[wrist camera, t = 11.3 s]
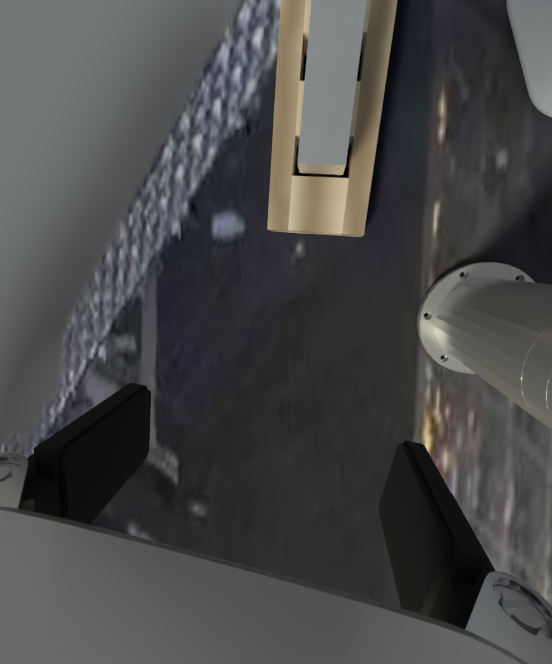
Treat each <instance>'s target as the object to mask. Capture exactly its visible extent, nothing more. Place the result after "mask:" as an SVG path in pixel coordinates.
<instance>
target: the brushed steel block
mask: <svg viewBox="0 0 552 664" xmlns="http://www.w3.org/2000/svg"><path fill="white" fill-rule="evenodd" d="M366 3H367V0H312V2H311V13H310V25H309V36H308V48H307V59H306V71H305V82H304V94H303V105H302V117H301V128H300V140H299V151H298V168H299V173H303V175H311V176H331V177H340V175H343V173H344V169H345V166H346V161H347V153H348V145H349V137H350V129H351V121H352V113H353V106H354V98H355V90H356V82H357V74H358V66H359V58H360V50H361V43H362V35H363V27H364V19H365V11H366Z"/></svg>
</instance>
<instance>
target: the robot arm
mask: <svg viewBox="0 0 552 664" xmlns="http://www.w3.org/2000/svg"><path fill="white" fill-rule="evenodd" d="M461 272H462V276H461V277H460V273H461ZM515 279H516V280H515ZM425 313H427V316H425V317H424V314H425ZM417 330H418V336H419V339H420V341H421V344H422V346H423V347H424V349H425V350H426V352H427V353H428V354H429V355H430V356H431V357H432V358H433V359H434V360H435V361H437V362H438V363H439V364H440V365H442V366H444V367H446V368H448V369H450V370H454V371H457V372H461V373H470V374H475V373H476V374H477V375H479V376H480V377H481V378H483V379H484V380H485V381H487V382H488V383H489V384H491V385H492V386H493V387H495V388H496V389H497V390H499V391H500V392H501V393H503V394H504V395H505V396H507V397H508V398H509V399H511V400H512V401H513V402H515V403H516V404H517V405H519V406H520V407H521V408H523V409H524V410H525V411H527V412H528V413H529V414H531V415H532V416H533V417H535V418H536V419H538V420H539V421H540V422H542V423H543V424H545V425H546V426H547V427H549V428H550V429H551V430H552V285H549V284H541V283H535V282H534V281H533V280H532V278H531V277H530V276H529V275H528V274H526V273H525V272H523V271H522V270H520V269H518V268H516V267H513V266H511V265H508V264H503V263H497V262H479V263H471V264H468V265H464V266H461V267H459V268H457V269H455V270H453V271H450V272H449V273H447V274H446V275H444V276H443V277H442V278H440V279H439V280H438V281H437V282H436V283H435V284H434V285H433V286H432V287H431V288H430V290H429V291H428V292H427V294H426V295H425V297H424V299H423V301H422V303H421V305H420V308H419V312H418V316H417ZM442 355H443V357H442V358H440V357H441V356H442ZM150 408H151V392H150V391H149V390H148V389H147V387H146V386H145V385H140V384H135V383H129V384H128V385H126V386H125V387H123V388H122V389H120V390H119V391H117V392H116V393H114V394H113V395H111V396H110V397H109V398H107V399H106V400H104V401H103V402H101V403H100V404H98V405H97V406H95V407H94V408H92V409H91V410H89V411H88V412H86V413H85V414H84V415H82V416H81V417H79V418H78V419H76V420H75V421H73V422H72V423H70V424H69V425H67V426H66V427H64V428H63V429H61V430H60V431H59V432H57V433H56V434H54V435H53V436H51V437H50V438H48V439H47V440H45V441H44V442H42V443H41V444H39V445H38V446H36V447H35V448H34V454H32V455H31V456H29V457H28V458H27V457H26V456H25V455H22V454H19V453H1V454H0V664H552V606H551V605H550V604H549V603H548V602H547V601H546V600H545V599H544V598H543V597H542V596H541V595H540V594H539V593H538V592H537V591H536V590H534V589H533V588H532V587H531V586H529V585H528V584H527V583H525V582H523V581H522V580H520V579H519V578H517V577H515V576H513V575H510V574H508V573H505V572H499V571H495V569H494V567H493V566H492V564H491V562H490V560H489V558H488V557H487V555H486V553H485V551H484V550H483V548H482V546H481V544H480V542H479V541H478V539H477V537H476V535H475V533H474V532H473V530H472V528H471V526H470V525H469V523H468V521H467V519H466V517H465V516H464V514H463V512H462V510H461V509H460V507H459V505H458V503H457V501H456V500H455V498H454V496H453V495H452V493H451V492H450V491H449V489H448V487H447V485H446V483H445V482H444V480H443V478H442V476H441V475H440V473H439V471H438V469H437V467H436V466H435V464H434V462H433V460H432V458H431V457H430V455H429V453H428V451H427V449H426V448H425V446H424V445H423V444H420V443H415V442H410V441H405V442H404V443H403V444H399V445H398V446H397V449H396V452H395V456H394V459H393V462H392V465H391V468H390V472H389V475H388V478H387V481H386V484H385V488H384V491H383V494H382V497H381V500H380V504H379V515H380V519H381V524H382V528H383V532H384V536H385V540H386V545H387V549H388V553H389V557H390V562H391V566H392V570H393V574H394V578H395V583H396V587H397V591H398V595H399V600H400V604H401V608H399V607H396V606H392V605H389V604H385V603H382V602H378V601H375V600H372V599H368V598H365V597H361V596H358V595H354V594H350V593H347V592H343V591H339V590H336V589H332V588H328V587H324V586H321V585H317V584H313V583H310V582H306V581H302V580H299V579H295V578H291V577H288V576H284V575H280V574H277V573H273V572H269V571H265V570H262V569H258V568H254V567H250V566H246V565H243V564H239V563H235V562H231V561H228V560H224V559H220V558H216V557H213V556H209V555H205V554H201V553H197V552H193V551H190V550H186V549H182V548H178V547H174V546H171V545H167V544H163V543H159V542H155V541H151V540H147V539H143V538H140V537H136V536H132V535H128V534H124V533H120V532H116V531H112V530H108V529H105V528H101V527H97V526H93V525H90V524H91V523H92V522H93V520H94V519H95V518H96V517H97V516H98V514H99V513H100V512H101V511H102V510H103V509H104V507H105V506H106V505H107V504H108V503H109V501H110V500H111V499H112V498H113V497H114V496H115V494H116V493H117V492H118V491H119V490H120V488H121V487H122V486H123V485H124V484H125V483H126V481H127V480H128V479H129V478H130V477H131V475H132V474H133V473H134V472H135V471H136V470H137V468H138V467H139V466H140V465H141V464H142V462H143V461H144V460H145V459H146V457H147V455H148V452H149V439H150Z"/></svg>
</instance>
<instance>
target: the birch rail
mask: <svg viewBox="0 0 552 664" xmlns="http://www.w3.org/2000/svg"><path fill="white" fill-rule="evenodd" d="M311 2H312V0H281V6H280V23H279V40H278V57H277V74H276V91H275V108H274V125H273V143H272V160H271V177H270V194H269V211H268V228H267V229H268V230H270V231H275V232H291V233H306V234H322V235H337V236H353V237H361V236H363V235H364V230H365V223H366V216H367V209H368V202H369V195H370V188H371V181H372V174H373V167H374V160H375V153H376V146H377V140H378V133H379V126H380V119H381V112H382V105H383V98H384V91H385V84H386V77H387V70H388V63H389V56H390V49H391V42H392V35H393V28H394V21H395V14H396V7H397V0H367V3H366V11H365V19H364V27H363V35H362V43H361V50H360V55H362V58H361V66H360V74H359V81H357V82H356V90H355V98H354V106H353V113H352V121H351V129H350V137H349V145H348V148H350V156H349V164H348V172H347V178H334V177H310V176H295V169H296V156H297V146H299V140H300V128H301V117H302V105H303V94H304V82H305V81H302V80H303V68H304V55H307V48H308V36H309V25H310V13H311Z"/></svg>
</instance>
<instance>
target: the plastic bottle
mask: <svg viewBox="0 0 552 664" xmlns="http://www.w3.org/2000/svg"><path fill="white" fill-rule="evenodd" d="M507 12H508V16H509V20H510V24H511V28H512V32H513V35H514V39H515V43H516V47H517V51H518V55H519V59H520V63H521V67H522V70H523V74H524V78H525V82H526V86H527V90H528V94H529V97H530V99H531V101H532V103H533V104H534V106H535V107H536V108H537V109H538V110H539V111H540V112H542V113H543V114H545V115H547V116H549V117H552V0H507Z"/></svg>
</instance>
